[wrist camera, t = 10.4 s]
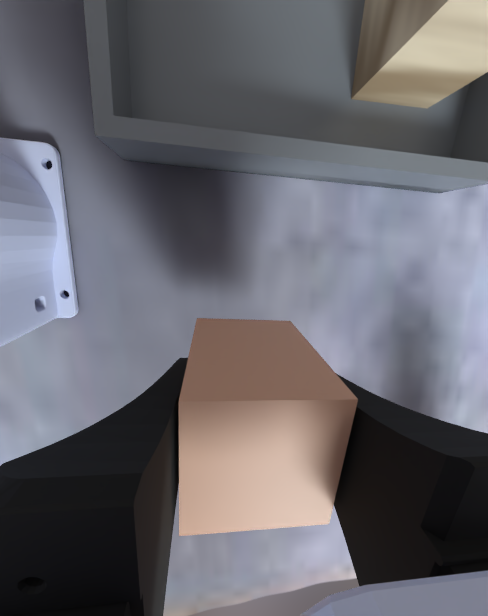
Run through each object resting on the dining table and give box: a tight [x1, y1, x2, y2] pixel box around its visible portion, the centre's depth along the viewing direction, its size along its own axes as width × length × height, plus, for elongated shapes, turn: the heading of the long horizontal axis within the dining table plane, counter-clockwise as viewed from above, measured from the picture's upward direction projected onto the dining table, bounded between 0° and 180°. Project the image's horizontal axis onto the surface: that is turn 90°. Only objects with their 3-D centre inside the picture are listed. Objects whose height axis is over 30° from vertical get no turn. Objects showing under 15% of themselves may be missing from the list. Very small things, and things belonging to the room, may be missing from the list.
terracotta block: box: [179, 318, 358, 536], centre depth 9 cm, size 4×4×6 cm
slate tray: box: [83, 0, 488, 193], centre depth 11 cm, size 13×20×4 cm, turn 86°
